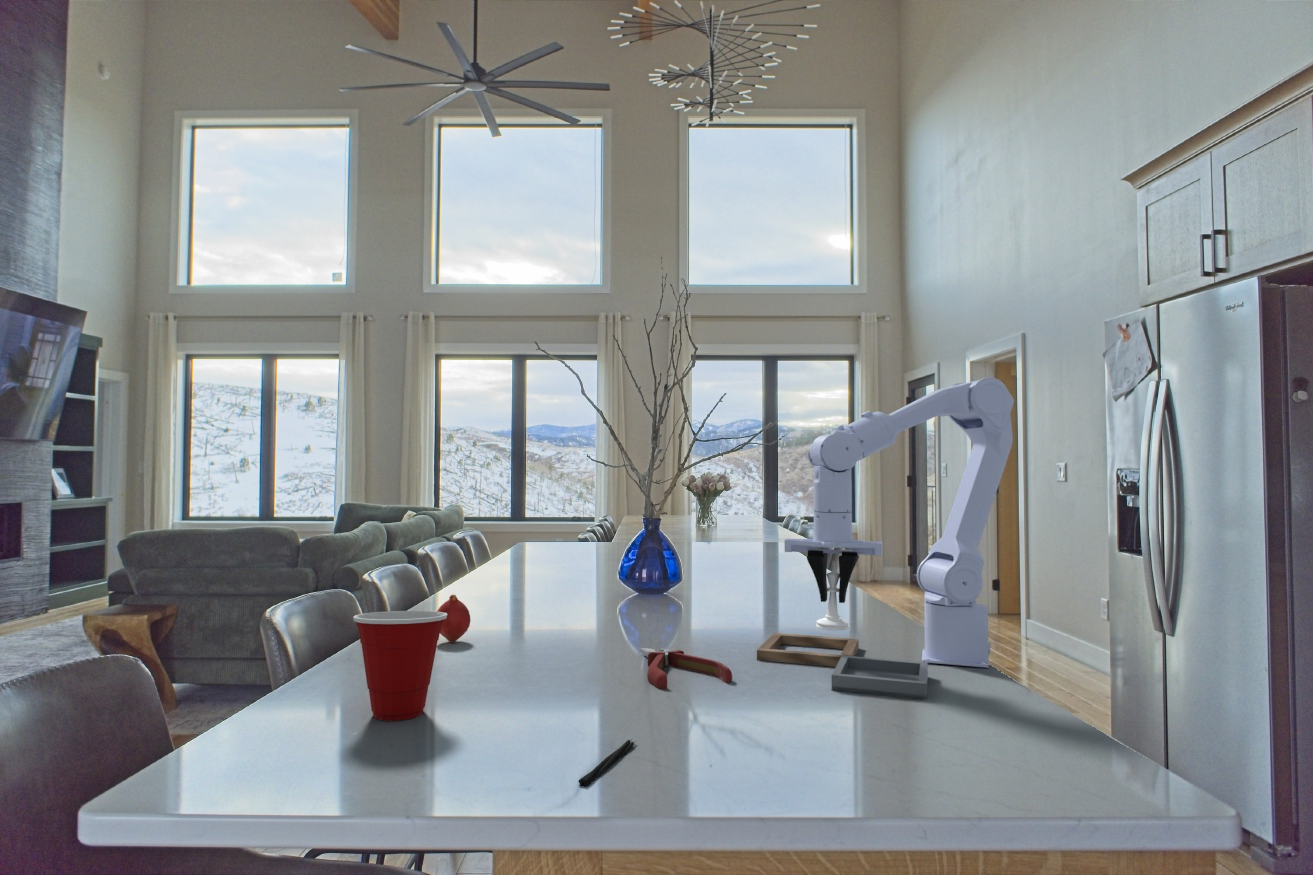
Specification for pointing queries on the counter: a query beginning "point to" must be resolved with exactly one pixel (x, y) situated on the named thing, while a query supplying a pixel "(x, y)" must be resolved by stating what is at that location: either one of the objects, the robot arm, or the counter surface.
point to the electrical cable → (606, 763)
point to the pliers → (681, 665)
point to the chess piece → (832, 605)
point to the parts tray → (881, 677)
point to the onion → (454, 619)
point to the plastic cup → (398, 659)
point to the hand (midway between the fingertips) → (832, 601)
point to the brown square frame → (772, 654)
